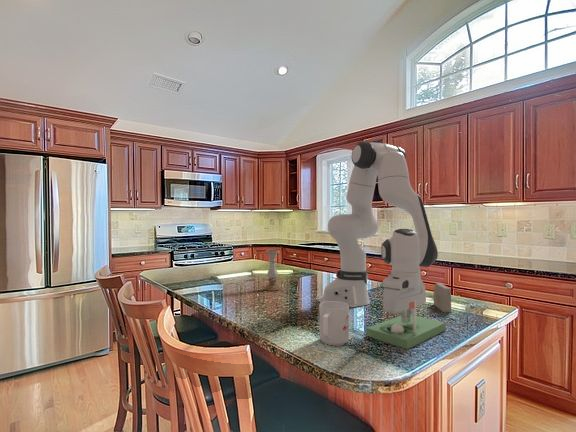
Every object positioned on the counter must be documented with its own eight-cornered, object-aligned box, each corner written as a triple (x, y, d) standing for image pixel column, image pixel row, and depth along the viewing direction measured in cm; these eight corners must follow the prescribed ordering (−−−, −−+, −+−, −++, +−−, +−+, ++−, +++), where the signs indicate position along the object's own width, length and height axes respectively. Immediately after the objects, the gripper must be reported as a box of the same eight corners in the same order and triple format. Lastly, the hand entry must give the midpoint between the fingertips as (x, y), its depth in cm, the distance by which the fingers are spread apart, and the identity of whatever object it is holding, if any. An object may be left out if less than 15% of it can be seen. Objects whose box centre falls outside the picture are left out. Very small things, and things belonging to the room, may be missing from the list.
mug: (325, 334, 106) (325, 299, 106) (352, 339, 101) (352, 303, 101) (310, 347, 95) (310, 309, 95) (339, 353, 91) (339, 313, 91)
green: (406, 320, 120) (406, 286, 120) (445, 330, 109) (445, 292, 109) (366, 335, 104) (366, 296, 104) (407, 349, 93) (407, 305, 93)
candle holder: (262, 291, 168) (262, 251, 169) (266, 287, 177) (266, 249, 177) (279, 291, 167) (279, 251, 167) (282, 287, 176) (282, 250, 176)
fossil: (452, 312, 129) (452, 288, 130) (442, 312, 130) (442, 288, 130) (441, 304, 141) (441, 282, 141) (433, 304, 142) (433, 282, 142)
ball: (398, 341, 101) (389, 330, 101) (395, 338, 104) (387, 328, 105) (408, 333, 101) (399, 322, 102) (405, 331, 105) (396, 320, 105)
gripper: (413, 274, 115) (413, 313, 115) (379, 281, 102) (379, 326, 102) (430, 276, 111) (431, 318, 111) (397, 285, 97) (397, 331, 97)
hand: (406, 322), depth 106 cm, fingers closed
